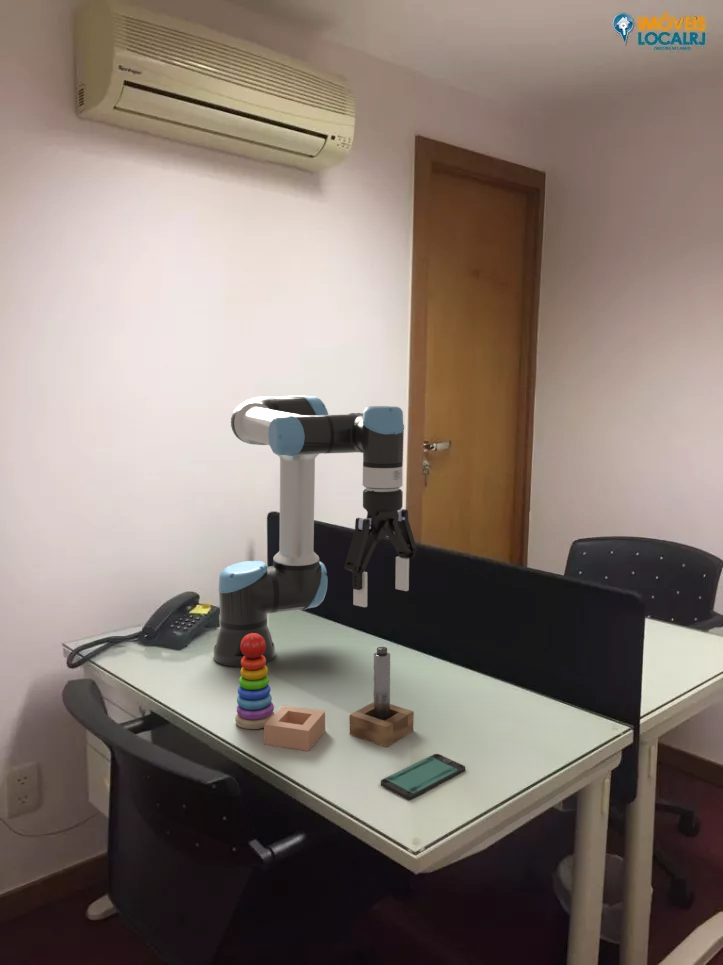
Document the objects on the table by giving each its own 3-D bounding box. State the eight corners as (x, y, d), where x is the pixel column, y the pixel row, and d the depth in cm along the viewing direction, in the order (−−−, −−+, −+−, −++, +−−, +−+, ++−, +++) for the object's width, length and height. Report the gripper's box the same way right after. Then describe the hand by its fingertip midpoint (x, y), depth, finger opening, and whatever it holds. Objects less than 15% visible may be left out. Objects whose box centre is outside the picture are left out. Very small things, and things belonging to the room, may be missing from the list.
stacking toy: (231, 717, 162) (229, 629, 160) (269, 711, 165) (268, 625, 162) (239, 733, 155) (237, 641, 152) (279, 727, 158) (278, 636, 155)
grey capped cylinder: (370, 733, 155) (370, 649, 153) (379, 727, 158) (380, 644, 155) (383, 737, 153) (383, 652, 151) (392, 731, 156) (393, 648, 153)
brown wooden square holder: (349, 734, 155) (349, 714, 154) (376, 718, 162) (377, 699, 161) (386, 747, 149) (386, 727, 149) (413, 730, 156) (413, 711, 156)
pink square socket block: (264, 744, 150) (264, 724, 150) (283, 724, 159) (282, 705, 158) (308, 751, 148) (308, 730, 147) (325, 730, 156) (325, 711, 156)
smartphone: (467, 765, 140) (409, 795, 130) (466, 772, 141) (409, 802, 130) (435, 751, 146) (378, 779, 136) (435, 757, 146) (378, 786, 136)
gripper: (357, 498, 137) (357, 616, 140) (435, 482, 156) (433, 586, 159) (324, 494, 141) (325, 609, 144) (403, 479, 161) (402, 580, 164)
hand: (381, 597), depth 152 cm, fingers open, 13 cm apart
